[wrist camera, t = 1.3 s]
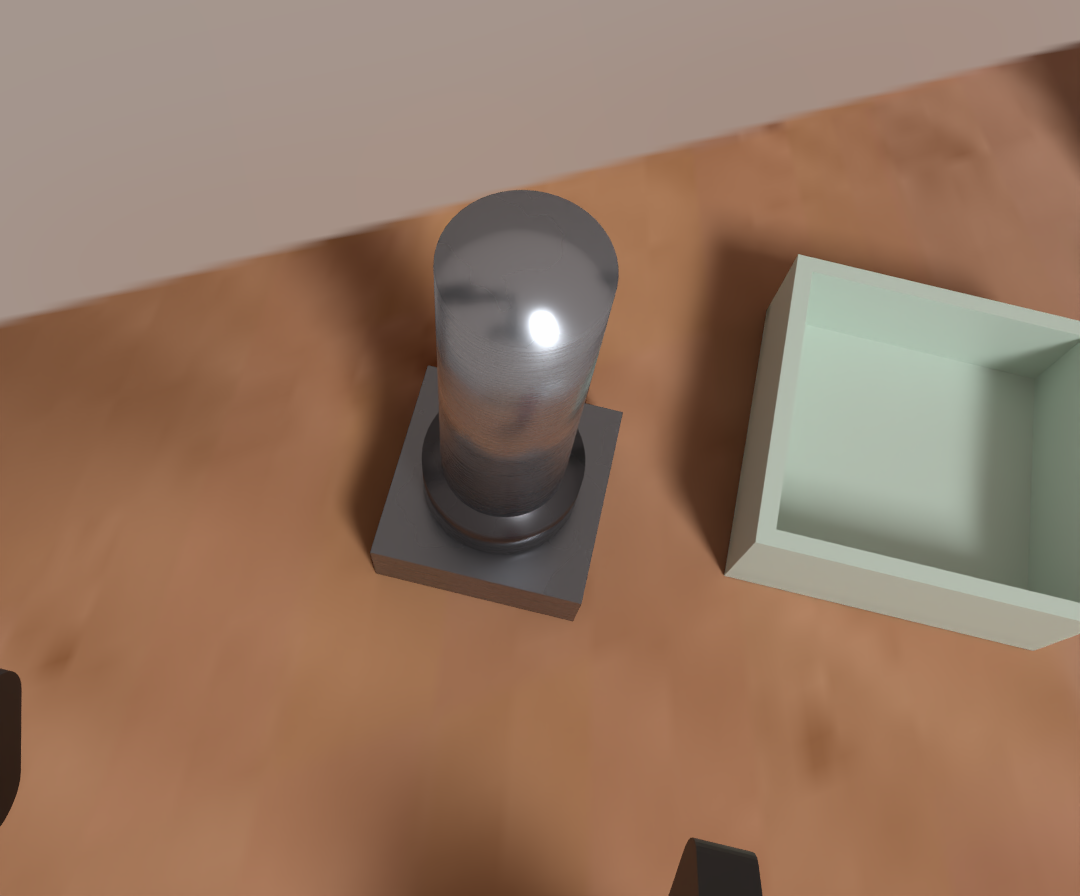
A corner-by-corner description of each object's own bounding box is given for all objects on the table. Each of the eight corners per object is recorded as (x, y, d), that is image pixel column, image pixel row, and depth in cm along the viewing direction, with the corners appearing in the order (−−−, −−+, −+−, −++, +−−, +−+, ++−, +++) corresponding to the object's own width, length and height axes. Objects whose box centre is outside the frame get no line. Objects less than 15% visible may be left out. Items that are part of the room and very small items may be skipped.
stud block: (375, 573, 35) (370, 552, 32) (429, 396, 37) (427, 365, 35) (572, 621, 34) (581, 603, 32) (612, 440, 37) (622, 412, 35)
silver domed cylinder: (404, 533, 33) (374, 340, 21) (446, 393, 35) (441, 145, 23) (560, 571, 32) (620, 400, 21) (592, 429, 34) (665, 198, 23)
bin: (724, 575, 35) (755, 542, 32) (766, 310, 40) (798, 254, 36) (1033, 650, 35) (1100, 626, 32) (1042, 376, 40) (1102, 326, 36)
